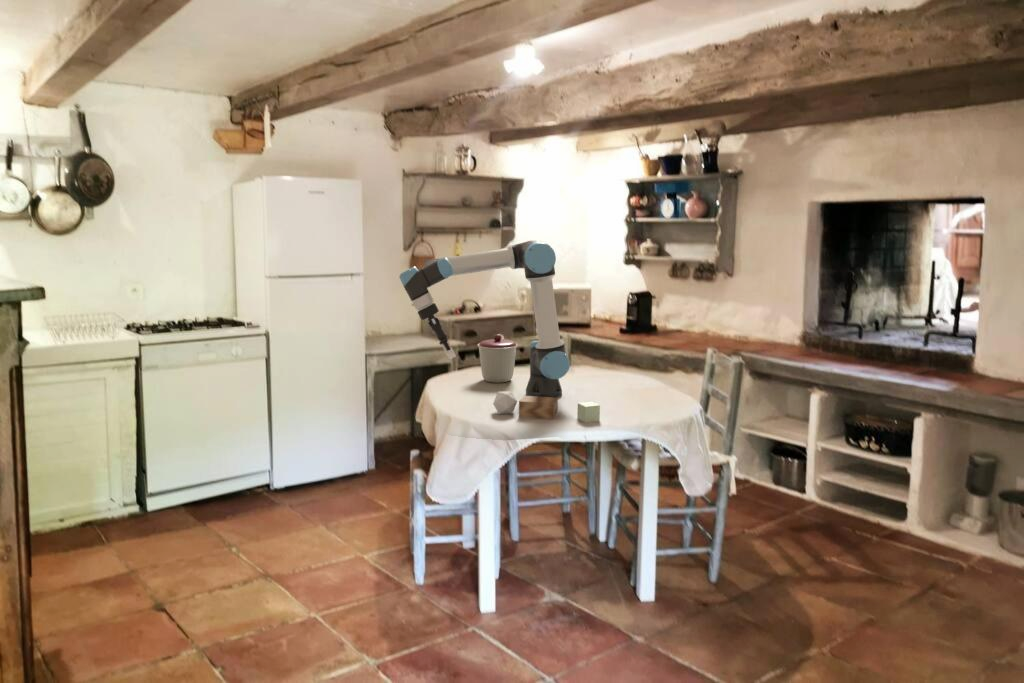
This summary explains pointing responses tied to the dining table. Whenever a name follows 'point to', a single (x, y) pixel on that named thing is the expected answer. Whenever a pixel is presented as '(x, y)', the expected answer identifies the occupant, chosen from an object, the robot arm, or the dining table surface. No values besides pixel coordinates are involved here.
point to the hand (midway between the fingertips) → (451, 356)
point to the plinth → (538, 407)
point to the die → (505, 402)
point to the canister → (497, 359)
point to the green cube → (588, 411)
